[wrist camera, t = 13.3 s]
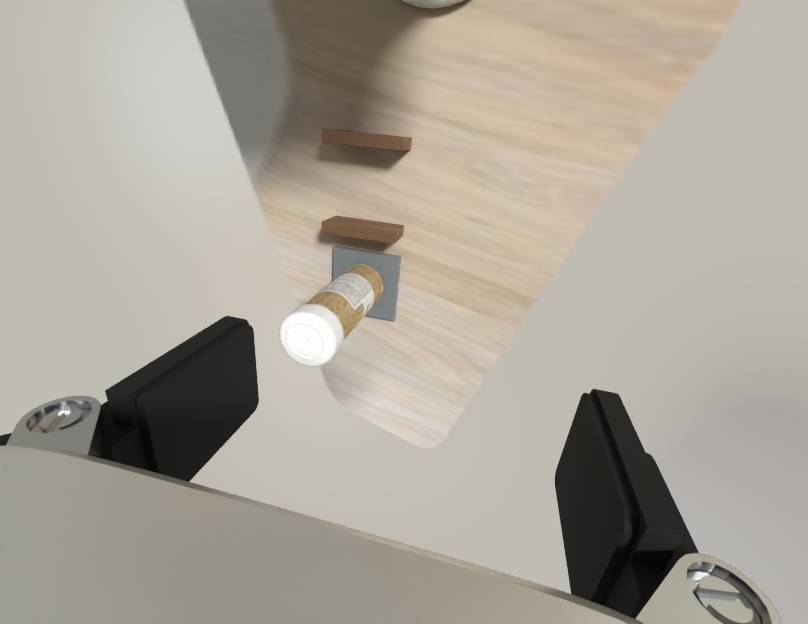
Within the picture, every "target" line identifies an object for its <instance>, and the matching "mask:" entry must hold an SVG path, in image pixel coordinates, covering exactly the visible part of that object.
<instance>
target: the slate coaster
mask: <svg viewBox="0 0 808 624" xmlns="http://www.w3.org/2000/svg"><path fill="white" fill-rule="evenodd" d="M400 262H401V256H396V255H390V254H384V253H377V252H371V251H364V250H358V249H352V248H345V247H339V246H335V247H333V281H334V280H335V279H337V278H338V277H339V276H341V275H343V274H344V273H345V272H346V271H347V269H348V268H350V267H351V266H353V265H356V264H365V265H369V266H371V267H373V268H374V269H375V270H376V271H378V273H379V274H380V276H381V278H382V281H383V293H382V295H381V297H380V299H379V300H378V301H377V302H376V303H374V304H373V305H372V307H371V309H370V310H369V311H368V313H367V314H366V315H365V316H369V317H374V318H380V319H385V320H390V321H394V320H395V317H396V306H397V295H398V284H399V273H400Z"/></svg>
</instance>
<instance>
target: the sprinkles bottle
mask: <svg viewBox="0 0 808 624" xmlns="http://www.w3.org/2000/svg"><path fill="white" fill-rule="evenodd" d="M382 293H383V281H382V278H381V276H380V274H379V273H378V271H376V270H375V269H374V268H373V267H371V266H369V265H365V264H356V265H353V266H351V267H350V268H348V269H347V271H346V272H345V273H344V274H343V275H341V276H339V277H338V278H337V279H335V280H334V281H333V282H332V283H330V284H329V285H328V286H326V287H325V288H324V289H323V290H321V291H320V292H319V293H317V294H316V295H315V296H314V297H313V298H312V299H311V300H310V301H309V302H308V303H306V304H305V305H302V306H300V307H298V308H296V309H295V310H294V311H293V312H292V313H290V314H289V315H288V316H287V317H286V318H285V319H284V320H283V322H282V324H281V326H280V332H279V336H280V341H281V344H282V346H283V348H284V350H285V352H286V353H287V354H288V355H289V356H290V357H291V358H292V359H293V360H295V361H296V362H298V363H300V364H302V365H306V366H320V365H323V364H325V363H327V362H328V361H330V360H331V359H332V357H333V356H334V355H335V354H336V353H337V351H338V350H339V349H340V347H341V345H342V343H343V340H344V339H345V338H346V337H347V335H348V334H349V333H350V332H351V331H352V330H353V329H354V328H355V327H356V326H357V324H358V323H359V322H360V321H361V320H362V318H363V317H364V316H365V315H366V314H367V313H368V311H369V310H370V309H371V307H372V305H373V304H374V303H376V302H377V301H378V300H379V299H380V297H381V295H382Z"/></svg>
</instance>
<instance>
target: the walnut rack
mask: <svg viewBox="0 0 808 624" xmlns="http://www.w3.org/2000/svg"><path fill="white" fill-rule="evenodd" d="M411 141H412V138H409V137H399V136H389V135H379V134H369V133H360V132H350V131H340V130H328V129H322V142H327V143H337V144H346V145H355V146H364V147H374V148H383V149H392V150H401V151H402V150H411ZM403 229H404V225H397V224H390V223H383V222H376V221H369V220H362V219H355V218H348V217H341V216H334V217H332V218H330V219H327V220H325V221H323V222H322V233H326V234H333V235H340V236H346V237H353V238H359V239H366V240H373V241H379V242H386V243H393V244H394V243H395V242H396V241H397V240H399V239H400V238H401V237H402V236H403Z"/></svg>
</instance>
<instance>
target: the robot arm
mask: <svg viewBox="0 0 808 624" xmlns="http://www.w3.org/2000/svg"><path fill="white" fill-rule="evenodd" d="M401 1H403V2H405V3H408V4H411V5H413V6H416V7H422V8H431V9H434V8H442V7H448V6H451V5H454V4H457V3H459V2H462V1H464V0H401ZM105 392H106V396H107V399H108V401H107V402H105V403H104V404H102V405H101V404H100V402H99V401H98V400H97V399H95V398H92V397H89V396H72V397H65V398H61V399H56V400H53V401H51V402H48V403H45V404H42V405H40V406H39V407H37V408H35V409H33V410H31V411H30V412H29V413H27V414H26V415H24V416H23V417H22V418H21V419H20V421H19V422H18V423H17V425H16V427H15V429H14V431H13V432H12V433H10V434H6V435H2V436H0V624H783V623H782V620H781V618H780V615H779V613H778V611H777V609H776V608H775V606H774V605H773V603H772V602H771V600H770V599H769V598H768V596H767V595H766V594H765V593H764V592H763V591H762V590H761V589H760V588H759V587H758V586H757V585H756V584H755V583H754V582H753V581H752V580H750V579H749V578H748V577H747V576H746V575H744V574H743V573H742V572H741V571H739V570H737V569H736V568H734V567H733V566H731V565H729V564H727V563H726V562H724V561H722V560H719V559H717V558H714V557H712V556H709V555H704V554H699V552H698V550H697V548H696V546H695V544H694V542H693V540H692V538H691V536H690V534H689V531H688V530H687V527H686V525H685V523H684V521H683V519H682V517H681V515H680V512H679V511H678V508H677V506H676V504H675V502H674V500H673V498H672V496H671V494H670V491H669V489H668V487H667V485H666V483H665V481H664V479H663V477H662V475H661V473H660V470H659V468H658V466H657V464H656V462H655V460H654V459H653V457H652V456H651V455H649V454H648V453H645V451H644V448H643V446H642V444H641V442H640V440H639V437H638V435H637V433H636V431H635V429H634V427H633V425H632V422H631V420H630V418H629V416H628V413H627V412H626V409H625V407H624V405H623V403H622V400H621V398H620V396H619V395H618V394H616V393H612V392H607V391H602V390H596V389H593V390H592V391H591V392H590V394H588V393H583V395H582V396H581V399H580V402H579V405H578V408H577V411H576V414H575V417H574V420H573V422H572V426H571V428H570V431H569V434H568V437H567V440H566V443H565V446H564V449H563V452H562V455H561V458H560V461H559V463H558V467H557V469H556V474H555V487H556V495H557V501H558V507H559V514H560V521H561V527H562V535H563V540H564V548H565V555H566V561H567V567H568V574H569V581H570V588H571V594H569V593H566V592H563V591H560V590H557V589H554V588H550V587H547V586H544V585H541V584H538V583H534V582H531V581H528V580H525V579H521V578H518V577H514V576H512V575H509V574H505V573H502V572H498V571H496V570H493V569H489V568H486V567H483V566H479V565H476V564H473V563H469V562H465V561H462V560H459V559H455V558H452V557H448V556H445V555H442V554H438V553H435V552H432V551H428V550H424V549H421V548H418V547H414V546H411V545H408V544H404V543H401V542H397V541H394V540H390V539H387V538H384V537H380V536H377V535H374V534H370V533H366V532H363V531H360V530H356V529H353V528H349V527H346V526H342V525H339V524H335V523H332V522H328V521H325V520H322V519H318V518H315V517H311V516H308V515H304V514H301V513H297V512H293V511H290V510H286V509H283V508H280V507H276V506H273V505H269V504H266V503H262V502H259V501H254V500H252V499H248V498H244V497H241V496H237V495H234V494H230V493H227V492H223V491H219V490H216V489H212V488H209V487H205V486H202V485H198V484H194V483H191V482H189V481H190V480H191V479H192V478H193V477H194V476H195V475H196V474H197V472H198V471H199V470H200V469H201V468H202V467H203V466H204V465H205V464H206V463H207V462H208V461H209V460H210V459H211V458H212V456H213V455H214V454H215V453H216V452H217V451H218V450H219V449H220V448H221V447H222V446H223V445H224V444H225V442H226V441H227V440H228V439H229V438H230V437H231V436H232V435H233V434H234V433H235V432H236V431H237V430H238V429H239V428H240V426H241V425H242V424H243V423H244V422H245V421H246V420H247V419H248V418H249V417H250V416H251V414H253V412H254V411H255V410H256V408H257V405H258V401H259V397H258V384H257V371H256V358H255V345H254V332H253V328H252V326H250V325H249V323H248V322H247V320H245V319H240V318H235V317H230V316H226V317H224V318H222V319H220V320H219V321H217V322H215V323H214V324H212V325H211V326H209V327H208V328H206V329H204V330H202V331H201V332H199V333H198V334H196V335H194V336H193V337H191V338H189V339H188V340H187V341H185V342H183V343H182V344H180V345H178V346H177V347H175V348H173V349H172V350H170V351H168V352H167V353H165V354H164V355H162V356H160V357H159V358H157V359H156V360H154V361H152V362H151V363H149V364H148V365H146V366H144V367H143V368H141V369H139V370H138V371H136V372H135V373H133V374H131V375H130V376H128V377H126V378H125V379H123V380H122V381H120V382H119V383H117V384H115V385H114V386H112V387H111V388H109V389H107V390H105Z"/></svg>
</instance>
